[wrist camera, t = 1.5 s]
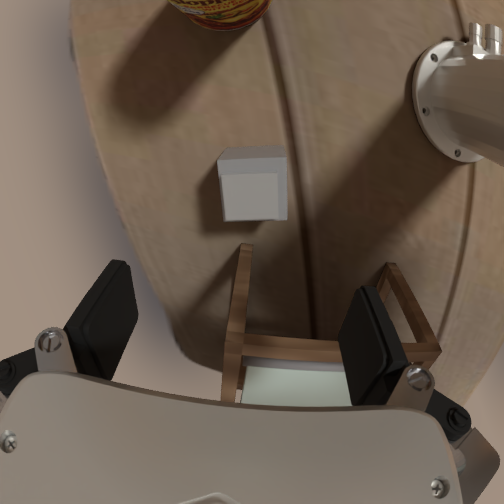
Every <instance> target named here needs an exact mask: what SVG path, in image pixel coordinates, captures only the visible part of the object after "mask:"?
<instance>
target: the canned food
mask: <svg viewBox="0 0 504 504" xmlns="http://www.w3.org/2000/svg"><path fill="white" fill-rule="evenodd" d="M167 1H169V2H170V3H171V4H172V5H174V6H175V7H176V8H177V9H179V10H180V11H181V12H182V13H183V14H185V15H186V16H187V17H188V18H189V19H191V20H192V21H193V22H194V23H196V24H198V25H200V26H202V27H203V28H207V29H211V30H215V31H230V30H235V29H240V28H243V27H245V26H248V25H250V24H252V23H254V22H255V21H257V20H258V19H260V18H261V17H262V16H263V15H264V13H265V12H266V11H267V10H268V8H269V6H270V4H271V2H272V0H167Z"/></svg>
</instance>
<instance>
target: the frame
mask: <svg viewBox="0 0 504 504" xmlns="http://www.w3.org/2000/svg"><path fill="white" fill-rule="evenodd" d="M252 252H253V245H251V244H243V243H241V248H240V254H239V260H238V266H237V272H236V278H235V284H234V290H233V296H232V302H231V308H230V314H229V320H228V326H227V332H226V338H225V347H224V360H223V374H222V389H221V401H224V402H234V401H235V395H236V389H240V390H243V385H244V379H245V374H246V368H247V367H246V366H242V363H243V356H244V355H246V356H255V357H265V358H275V359H287V360H301V361H318V362H343V361H342V356H341V352H340V347H339V343H338V341H327V340H312V339H299V338H287V337H277V336H267V335H258V334H249V333H244V332H245V322H246V312H247V302H248V292H249V282H250V272H251V262H252ZM391 288H392V290H393V292H394V294H395V296H396V298H397V300H398V302H399V304H400V306H401V308H402V310H403V313H404V315H405V317H406V319H407V321H408V323H409V326H410V328H411V330H412V332H413V335H414V337H415V339H416V342H417V343H401V344H402V347H403V349H404V352H405V354H406V357H407V359H408V362H414V363H413V364H412V365H420V366H422V367H425V368H426V369H427V370H428V369H429V368H430V367H431V366H432V364H433V363H434V362H435V360H436V359H437V358H438V356H439V355H440V354H441V352H442V350H441V347H440V345H439V343H438V341H437V339H436V337H435V335H434V333H433V331H432V329H431V327H430V325H429V323H428V321H427V319H426V317H425V315H424V313H423V311H422V309H421V308H420V306H419V304H418V302H417V300H416V298H415V296H414V295H413V293H412V291H411V289H410V287H409V286H408V284H407V282H406V280H405V279H404V277H403V275H402V274H401V272H400V270H399V268H398V267H397V265H396V263H388V262H386V265H385V267H384V270H383V272H382V275H381V277H380V280H379V282H378V285H377V287H376V289H377V291H378V293H379V295H380V297H381V300H382V302H383V304H384V302H385V300H386V298H387V296H388V294H389V291H390V289H391Z"/></svg>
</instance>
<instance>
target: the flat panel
mask: <svg viewBox="0 0 504 504" xmlns="http://www.w3.org/2000/svg"><path fill="white" fill-rule="evenodd" d="M409 365H412V363H411V362H409ZM242 366H246V367H247V368H246V374H245V379H244V385H243V390H242V396H241V401H240V403H244V404H257V405H273V406H301V407H329V406H352V404H351V400H350V395H349V390H348V385H347V380H346V375H345V370H344V366H343V362H318V361H301V360H287V359H275V358H265V357H255V356H246V355H244V356H243V363H242Z"/></svg>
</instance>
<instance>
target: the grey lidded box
mask: <svg viewBox="0 0 504 504" xmlns="http://www.w3.org/2000/svg"><path fill="white" fill-rule="evenodd" d="M217 165H218V175H219V184H220V194H221V203H222V212H223V221H224V222H240V221H274V220H287V161H286V154H285V150H284V146H283V145H275V146H249V147H232V148H226V149H225V150H224V152H223V153H222V154H221V156H220V157H219V159H218V160H217Z"/></svg>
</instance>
